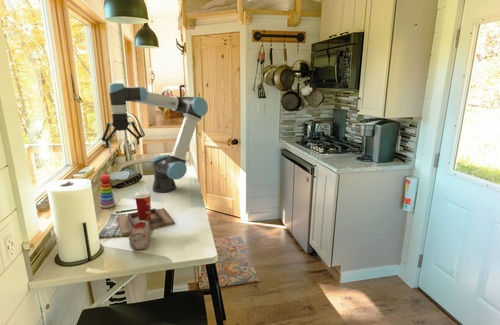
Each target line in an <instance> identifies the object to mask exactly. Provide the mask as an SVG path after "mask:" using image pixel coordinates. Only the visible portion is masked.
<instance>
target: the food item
mask: <svg viewBox="0 0 500 325" xmlns="http://www.w3.org/2000/svg"><path fill="white" fill-rule="evenodd" d="M133 226H134V227H133V230H132V233H131V230H130V233H131V234H130V233H129V235H128V236H129V237H128V240H129V246H130V249H131V250H136V251H137V250H140V251H141V250H147V249H148V248H149V246H150V241H151V240H150V239H151V234H152V232H151V230H152V229H151V230H150V224H149V221H146V220H140V221H136V222H135V224H133Z"/></svg>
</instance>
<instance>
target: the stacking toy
mask: <svg viewBox="0 0 500 325" xmlns="http://www.w3.org/2000/svg"><path fill="white" fill-rule="evenodd" d="M110 180H111V177H110V175H109V174H102V175H101V176H100V178H99V181H100V182H101V183H100V199H99V200H100V201H99V207H100V208H101V209H109V208H113V207H114V206H115V205H116V201H115V199H114V197H115V196H114V193H113V189H112V186H111V182H110Z"/></svg>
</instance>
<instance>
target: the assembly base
mask: <svg viewBox="0 0 500 325" xmlns="http://www.w3.org/2000/svg"><path fill="white" fill-rule="evenodd" d="M116 221H117V224H118V227H119V229H121V230H120V232H121V235H122V237H125V236H129V233H130V230H131V233H132V230H133V227H134V226H133V224H135V222H136V221H139V216H138V211H136V212H135V211H134V212H130V213H127V215H123V216H119V217H116ZM146 221H149V224H150V230H155V229H159V228H164V227H167V226H172V225H173V226H174V225H175V224H176V223H175V220H174V219H173V218H172V216H171V215H170V214H169V212H168V211H167V210H166V209H165V208H164V207H163V208H156V207H155V208H151V219H150V220H146ZM131 233H130V234H131Z"/></svg>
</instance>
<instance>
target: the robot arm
mask: <svg viewBox="0 0 500 325" xmlns="http://www.w3.org/2000/svg"><path fill="white" fill-rule="evenodd" d="M108 94H109V100H110V109H111V113H112V114H111V118H112V122H106V126H105V130H104V133H103V135H102V137H101V141H102V142H105V146H106V148H107V149H108V151H109V154H110V155H112V147H111V141H110V140H111V139H112V137H113V136H114V135H115V133H116V132H117V131H125V130H127V131H128V132H129V133H130V134H131V135H132V136H133V137H134V146H135V147H134V148H135V152H138V151H139V147H138V145H140V139H142V138H143V135H142V134H141V133H140V131H139V130H138V128H137V126H136V124H135V121H133V120H132V121H129V118H128V117H129V116H128V113H127V112H128V109H127V102H132V103H138V104H143V105H147V106H148V105H149V106H155V107H160V108H164V109H170V110H171V111H172V112H178V113H180V114H182V115H183V117H184V118H183V120H182V123H181V126H180V129H179V132H178V134H177V136H176V139H175V143H174V146H173V149H172V151H171V153H169V154H162V155H161V154H160V155H156V156H153V157H152V166H153V175H154V176H153V178H154V180H153V183H152V192H154V193H161V194H162V193H168V192H169V193H170V192H172V191H175V190H176V189H177V185H176V182H175V180H180V179H182V178H184V176H185V175H186V173H187V169H188V168H187V165H186V164H187V159H186V155H187V153H188V149H189V147H190V144H191V141H192V138H193V136H194V132H195V130H196V127H197V124H198V123H199V122H200V121H202V117H203V116H205V115H206V114H207V113H208V110H209V105H208V103H207V100H206V99H205V98H203V97H201V96H176V95H174V96H168V95H164V94H160V93H155V92H150V91H148V90H147V88H146V87H144V86H125V84H124V83H123V82H114V83H113V82H112V83H109V84H108ZM129 125H130V126H132V128H133V130H134V131H135V132H136V133H135V132H133V131H132V130H131V129H130V128H129ZM111 127H113V128H112V130H111V132H110V133H109V130H110V128H111ZM108 133H109V134H108Z"/></svg>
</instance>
